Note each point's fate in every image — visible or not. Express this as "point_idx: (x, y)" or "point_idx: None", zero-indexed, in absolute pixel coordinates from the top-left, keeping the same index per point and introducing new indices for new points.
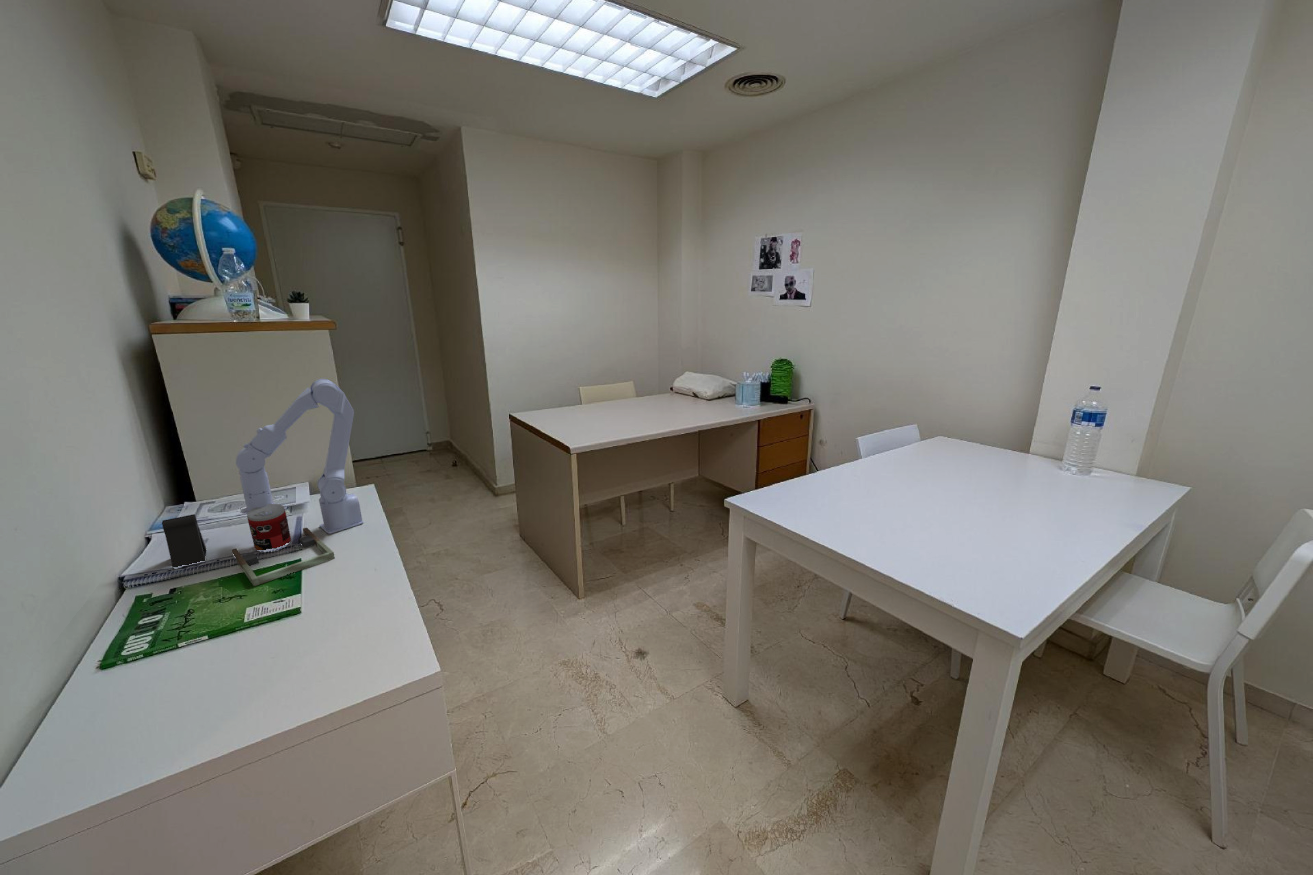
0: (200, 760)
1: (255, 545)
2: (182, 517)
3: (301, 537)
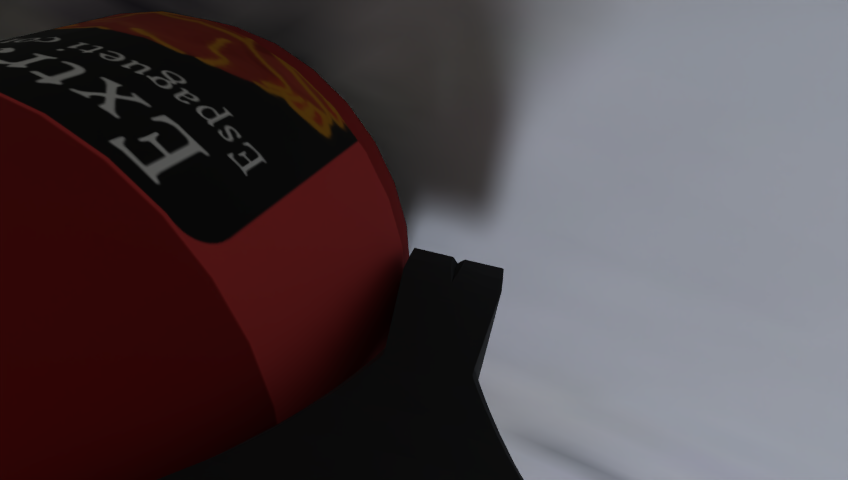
0: None
1: (81, 27)
2: None
3: None
